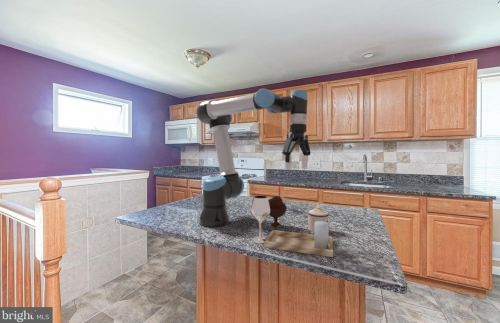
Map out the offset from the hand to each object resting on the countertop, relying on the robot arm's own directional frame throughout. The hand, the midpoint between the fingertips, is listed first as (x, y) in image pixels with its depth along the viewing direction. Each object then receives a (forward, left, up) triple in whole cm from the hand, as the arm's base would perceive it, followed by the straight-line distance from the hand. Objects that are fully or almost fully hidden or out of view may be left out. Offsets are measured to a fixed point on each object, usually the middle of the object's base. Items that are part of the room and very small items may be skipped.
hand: (296, 169), depth 105 cm
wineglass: (-12, -19, -29) cm, 37 cm away
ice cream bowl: (-10, +2, -29) cm, 30 cm away
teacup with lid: (+10, +1, -29) cm, 30 cm away
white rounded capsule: (+12, -21, -27) cm, 36 cm away
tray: (+4, -21, -29) cm, 36 cm away
